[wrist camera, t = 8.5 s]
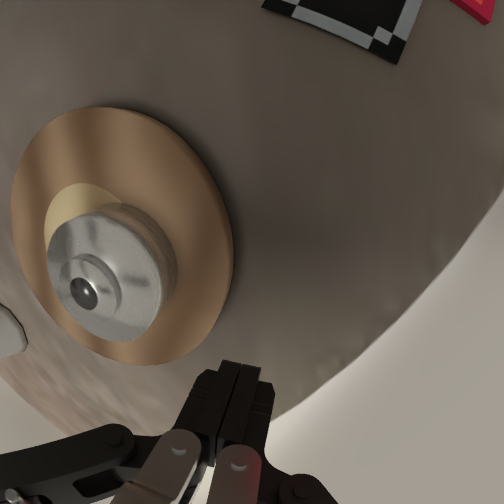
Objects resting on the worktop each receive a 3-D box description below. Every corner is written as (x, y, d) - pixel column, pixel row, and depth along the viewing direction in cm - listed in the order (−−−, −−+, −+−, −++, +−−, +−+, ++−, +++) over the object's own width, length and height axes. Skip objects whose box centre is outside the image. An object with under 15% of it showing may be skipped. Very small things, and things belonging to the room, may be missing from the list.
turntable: (47, 311, 27) (32, 324, 25) (28, 115, 19) (5, 118, 17) (224, 370, 25) (216, 392, 22) (254, 112, 17) (245, 109, 14)
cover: (90, 302, 21) (55, 335, 17) (72, 201, 18) (24, 221, 14) (182, 321, 20) (154, 366, 16) (174, 204, 17) (132, 229, 13)
